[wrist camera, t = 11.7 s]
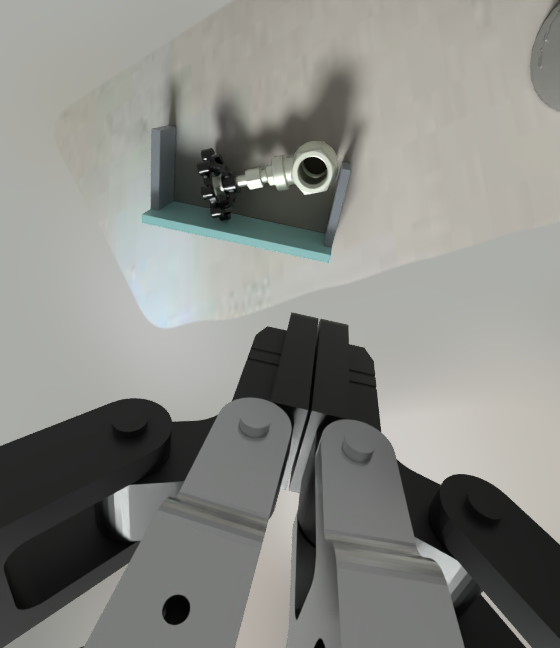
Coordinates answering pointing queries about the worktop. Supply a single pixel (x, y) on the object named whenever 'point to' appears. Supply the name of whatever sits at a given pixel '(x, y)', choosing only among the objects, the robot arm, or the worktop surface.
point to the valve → (265, 176)
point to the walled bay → (238, 226)
